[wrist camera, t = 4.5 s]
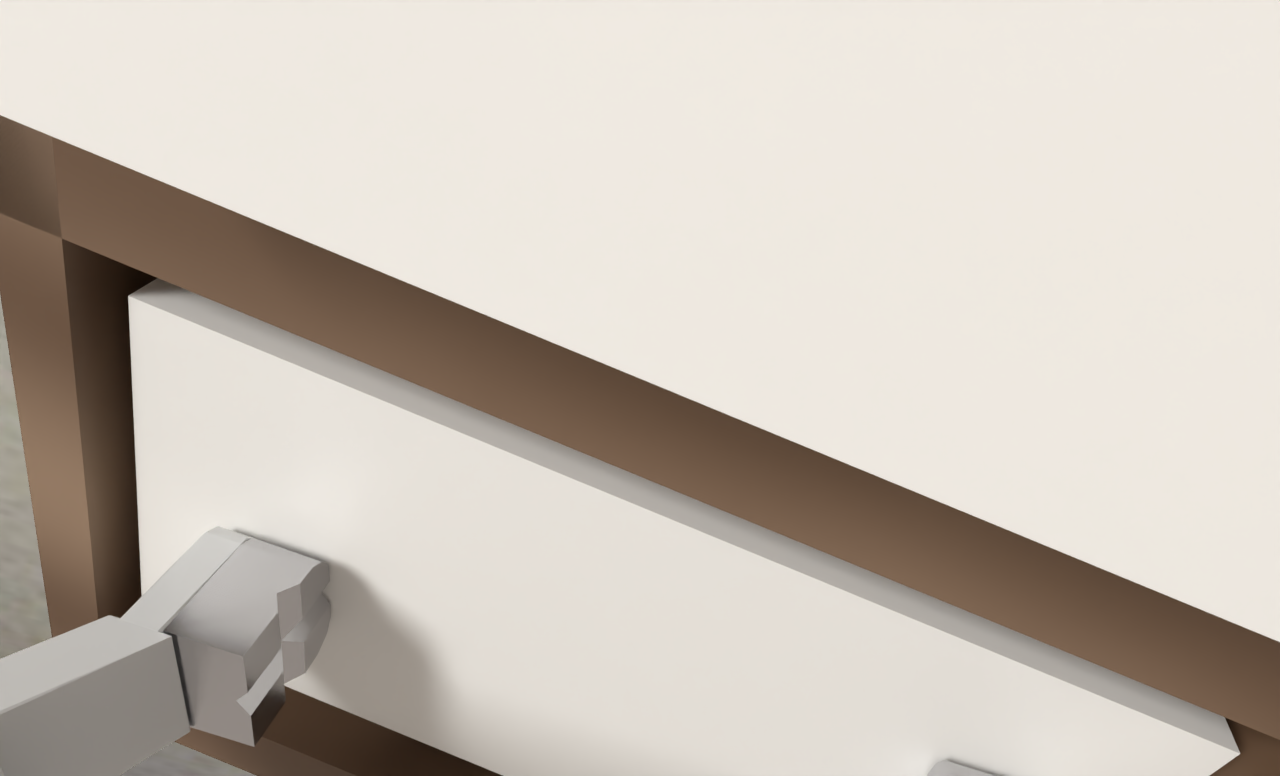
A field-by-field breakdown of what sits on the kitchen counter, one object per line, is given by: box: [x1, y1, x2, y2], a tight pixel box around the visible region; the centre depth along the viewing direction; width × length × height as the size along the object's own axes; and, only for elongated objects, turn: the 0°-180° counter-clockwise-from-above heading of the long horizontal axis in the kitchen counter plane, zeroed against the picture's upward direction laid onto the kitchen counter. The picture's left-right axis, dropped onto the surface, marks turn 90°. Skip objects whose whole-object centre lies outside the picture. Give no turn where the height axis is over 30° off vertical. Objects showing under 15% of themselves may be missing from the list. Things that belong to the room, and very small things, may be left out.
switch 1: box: [128, 278, 1240, 776], centre depth 11 cm, size 6×13×2 cm, turn 71°
